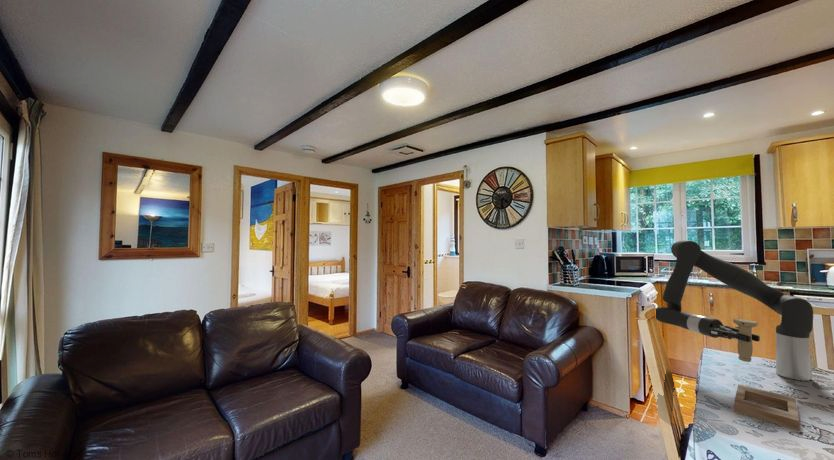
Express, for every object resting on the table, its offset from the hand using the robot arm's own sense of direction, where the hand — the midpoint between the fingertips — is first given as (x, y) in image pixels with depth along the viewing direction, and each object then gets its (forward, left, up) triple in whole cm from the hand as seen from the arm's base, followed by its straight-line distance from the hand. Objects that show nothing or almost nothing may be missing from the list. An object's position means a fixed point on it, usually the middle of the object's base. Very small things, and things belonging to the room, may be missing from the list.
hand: (754, 339), depth 119 cm
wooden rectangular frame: (+6, +9, -21) cm, 23 cm away
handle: (0, -3, -9) cm, 10 cm away
